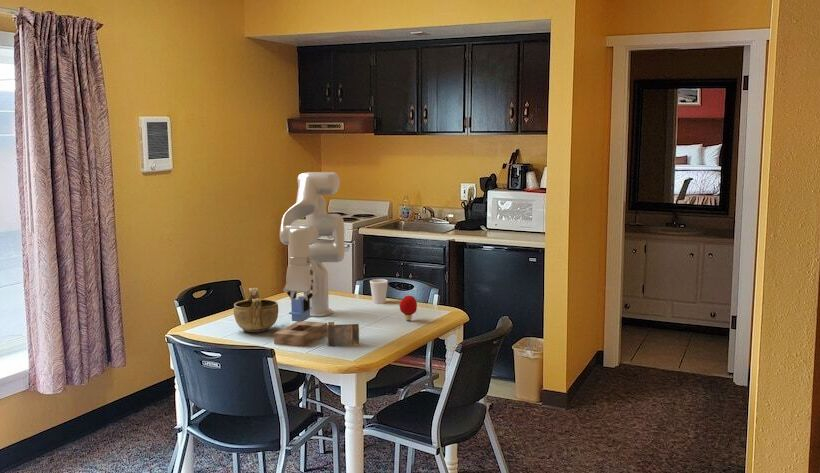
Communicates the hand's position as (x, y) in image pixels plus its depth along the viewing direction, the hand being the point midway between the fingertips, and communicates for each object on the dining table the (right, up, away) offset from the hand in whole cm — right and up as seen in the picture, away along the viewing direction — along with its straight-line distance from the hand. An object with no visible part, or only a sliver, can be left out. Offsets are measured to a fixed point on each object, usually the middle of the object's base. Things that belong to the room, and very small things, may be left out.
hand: (300, 309), depth 293 cm
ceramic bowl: (-19, -10, +13) cm, 25 cm away
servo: (0, -4, +1) cm, 4 cm away
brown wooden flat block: (0, -11, +2) cm, 11 cm away
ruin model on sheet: (+17, -13, -7) cm, 22 cm away
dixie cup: (+27, -3, +62) cm, 67 cm away
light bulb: (+40, -8, +27) cm, 49 cm away
